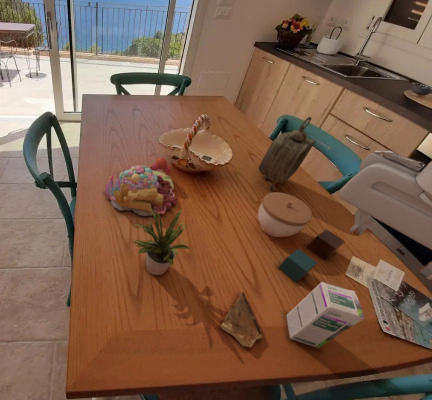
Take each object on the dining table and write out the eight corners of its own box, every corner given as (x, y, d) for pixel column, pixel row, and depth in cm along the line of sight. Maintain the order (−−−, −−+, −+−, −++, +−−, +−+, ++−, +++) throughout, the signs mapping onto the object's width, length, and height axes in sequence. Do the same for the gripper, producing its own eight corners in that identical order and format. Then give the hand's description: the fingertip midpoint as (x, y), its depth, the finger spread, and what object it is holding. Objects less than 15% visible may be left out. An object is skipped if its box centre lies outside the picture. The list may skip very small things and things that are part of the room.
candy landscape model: (181, 219, 82) (189, 197, 76) (104, 216, 81) (105, 193, 75) (169, 171, 100) (174, 149, 94) (106, 168, 99) (107, 146, 93)
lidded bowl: (267, 247, 76) (286, 220, 68) (242, 215, 85) (257, 188, 77) (304, 241, 78) (327, 215, 70) (277, 211, 87) (295, 185, 80)
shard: (240, 294, 64) (243, 290, 63) (272, 317, 61) (276, 314, 59) (218, 326, 58) (221, 322, 57) (252, 354, 55) (255, 351, 53)
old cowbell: (274, 195, 93) (314, 129, 76) (249, 182, 98) (283, 117, 81) (291, 179, 100) (331, 116, 84) (267, 168, 105) (301, 106, 88)
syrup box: (289, 339, 57) (330, 308, 47) (285, 313, 61) (322, 280, 52) (318, 349, 56) (366, 319, 46) (312, 322, 60) (355, 289, 50)
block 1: (306, 273, 70) (317, 262, 66) (296, 282, 68) (306, 271, 64) (289, 259, 73) (298, 248, 69) (278, 267, 71) (287, 256, 67)
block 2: (333, 252, 76) (345, 241, 72) (324, 259, 74) (336, 248, 70) (316, 240, 79) (326, 229, 75) (307, 246, 77) (317, 235, 73)
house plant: (142, 233, 77) (151, 190, 66) (189, 253, 72) (207, 211, 61) (120, 270, 67) (126, 227, 56) (172, 296, 63) (189, 255, 52)
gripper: (366, 149, 38) (312, 217, 47) (604, 252, 25) (467, 316, 35) (384, 139, 41) (330, 205, 50) (608, 227, 28) (479, 293, 37)
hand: (387, 251), depth 42 cm, fingers open, 8 cm apart
